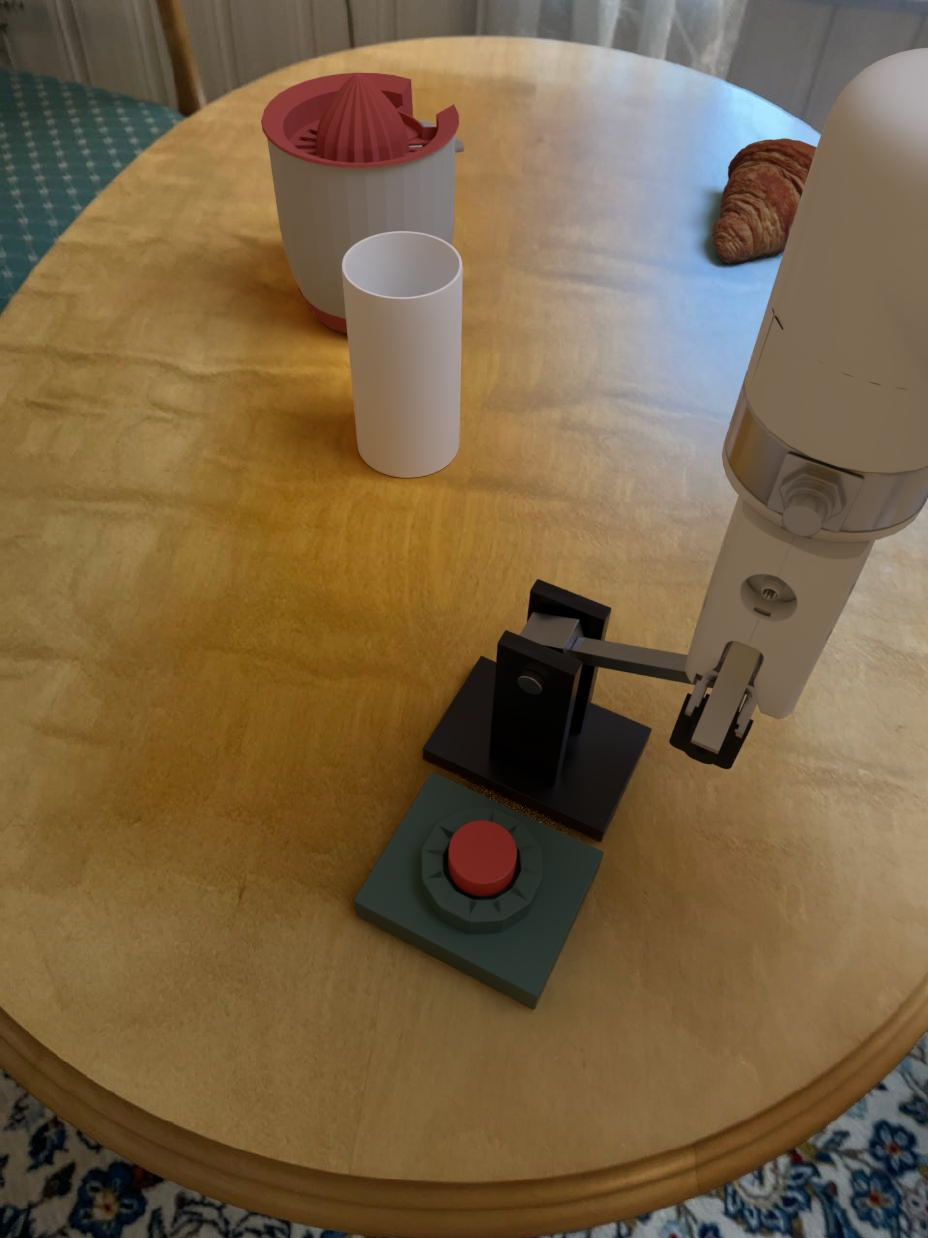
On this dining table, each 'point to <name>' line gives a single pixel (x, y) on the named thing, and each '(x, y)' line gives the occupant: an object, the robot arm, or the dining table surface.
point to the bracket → (542, 725)
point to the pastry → (761, 199)
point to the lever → (605, 650)
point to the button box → (473, 925)
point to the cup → (405, 350)
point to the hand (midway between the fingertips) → (719, 707)
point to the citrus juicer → (355, 175)
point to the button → (482, 858)
